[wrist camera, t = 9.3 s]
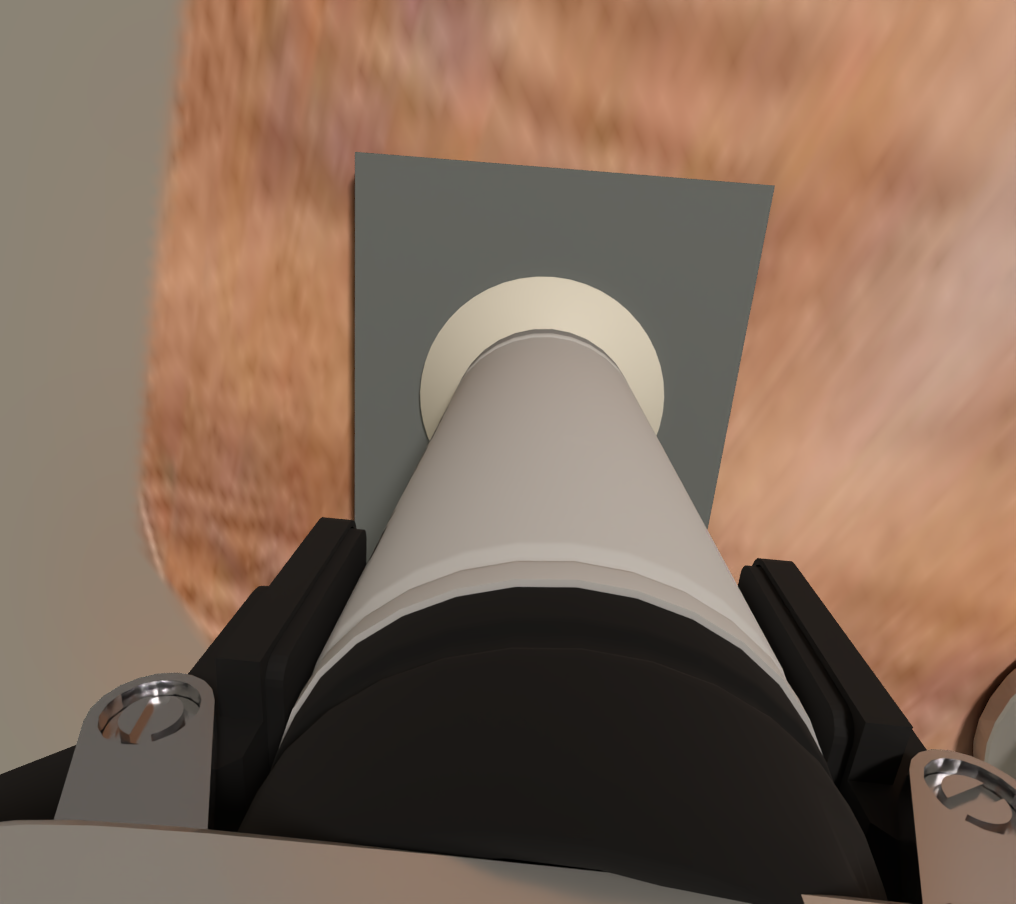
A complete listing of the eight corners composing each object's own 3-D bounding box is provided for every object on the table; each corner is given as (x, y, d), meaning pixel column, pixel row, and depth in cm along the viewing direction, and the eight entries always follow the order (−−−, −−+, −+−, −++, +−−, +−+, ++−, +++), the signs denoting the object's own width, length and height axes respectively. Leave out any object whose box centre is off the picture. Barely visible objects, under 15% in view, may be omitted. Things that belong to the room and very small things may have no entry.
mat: (687, 588, 28) (694, 606, 27) (362, 558, 29) (353, 574, 27) (763, 187, 23) (776, 185, 22) (363, 155, 23) (353, 151, 22)
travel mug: (671, 447, 23) (1208, 1371, 5) (508, 527, 25) (401, 1502, 6) (591, 287, 22) (912, 705, 3) (420, 382, 23) (-117, 1090, 4)
